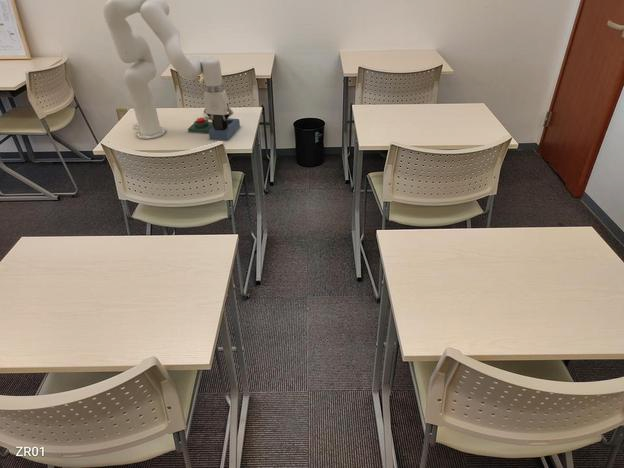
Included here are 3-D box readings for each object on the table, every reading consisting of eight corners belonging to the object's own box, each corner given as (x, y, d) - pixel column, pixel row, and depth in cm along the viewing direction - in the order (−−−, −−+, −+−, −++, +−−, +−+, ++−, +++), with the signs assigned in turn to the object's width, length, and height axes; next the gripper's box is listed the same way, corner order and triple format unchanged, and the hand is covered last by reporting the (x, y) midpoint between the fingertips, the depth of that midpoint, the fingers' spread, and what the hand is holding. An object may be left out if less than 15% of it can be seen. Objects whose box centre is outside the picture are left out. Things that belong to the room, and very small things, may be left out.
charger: (215, 132, 219) (212, 112, 213) (218, 129, 222) (215, 109, 216) (223, 133, 218) (220, 112, 212) (227, 129, 221) (224, 109, 216)
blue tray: (209, 139, 219) (208, 131, 217) (223, 125, 231) (221, 117, 229) (227, 140, 217) (226, 132, 215) (240, 126, 229) (239, 118, 227)
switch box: (188, 132, 227) (187, 125, 225) (196, 124, 234) (195, 117, 232) (208, 133, 225) (206, 126, 223) (215, 125, 232) (214, 118, 230)
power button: (196, 123, 226) (195, 120, 225) (199, 120, 229) (198, 117, 228) (203, 124, 226) (202, 120, 225) (206, 121, 228) (205, 117, 227)
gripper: (193, 89, 207) (200, 129, 218) (229, 91, 204) (235, 132, 214) (200, 84, 213) (207, 123, 224) (235, 85, 209) (240, 125, 220)
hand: (220, 127), depth 219 cm, fingers closed on charger, 4 cm apart
